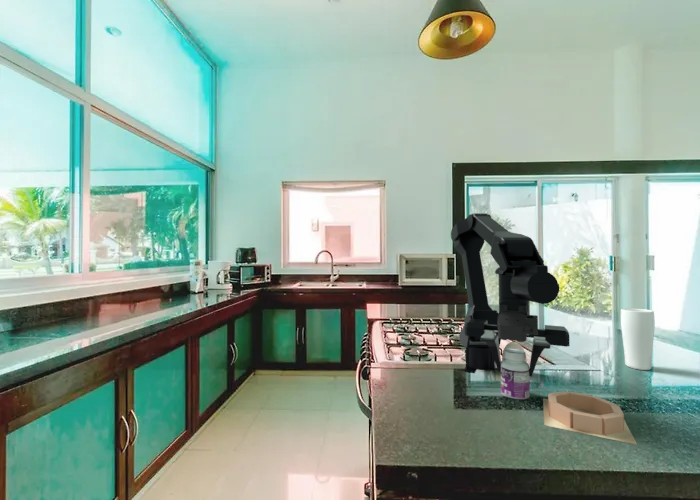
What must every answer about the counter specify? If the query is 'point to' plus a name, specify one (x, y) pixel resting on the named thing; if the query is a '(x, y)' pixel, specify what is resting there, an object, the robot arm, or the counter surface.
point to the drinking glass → (638, 337)
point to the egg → (513, 346)
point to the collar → (603, 423)
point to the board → (551, 422)
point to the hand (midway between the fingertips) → (514, 373)
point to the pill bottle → (515, 374)
